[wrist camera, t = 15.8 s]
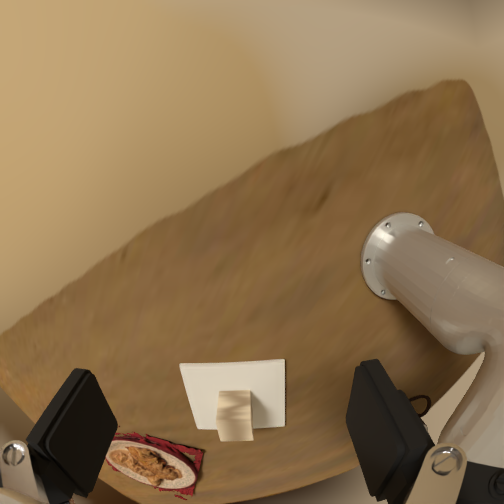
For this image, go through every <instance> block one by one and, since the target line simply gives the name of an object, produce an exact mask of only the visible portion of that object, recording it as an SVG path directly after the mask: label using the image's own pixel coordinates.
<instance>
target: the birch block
mask: <svg viewBox="0 0 504 504" xmlns="http://www.w3.org/2000/svg"><path fill="white" fill-rule="evenodd" d="M216 425H217V429H218V433H219V437H220V440H221V441H249V440H253V410H252V401H251V393H250V390H233V391H219V396H218V405H217V415H216Z"/></svg>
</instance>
